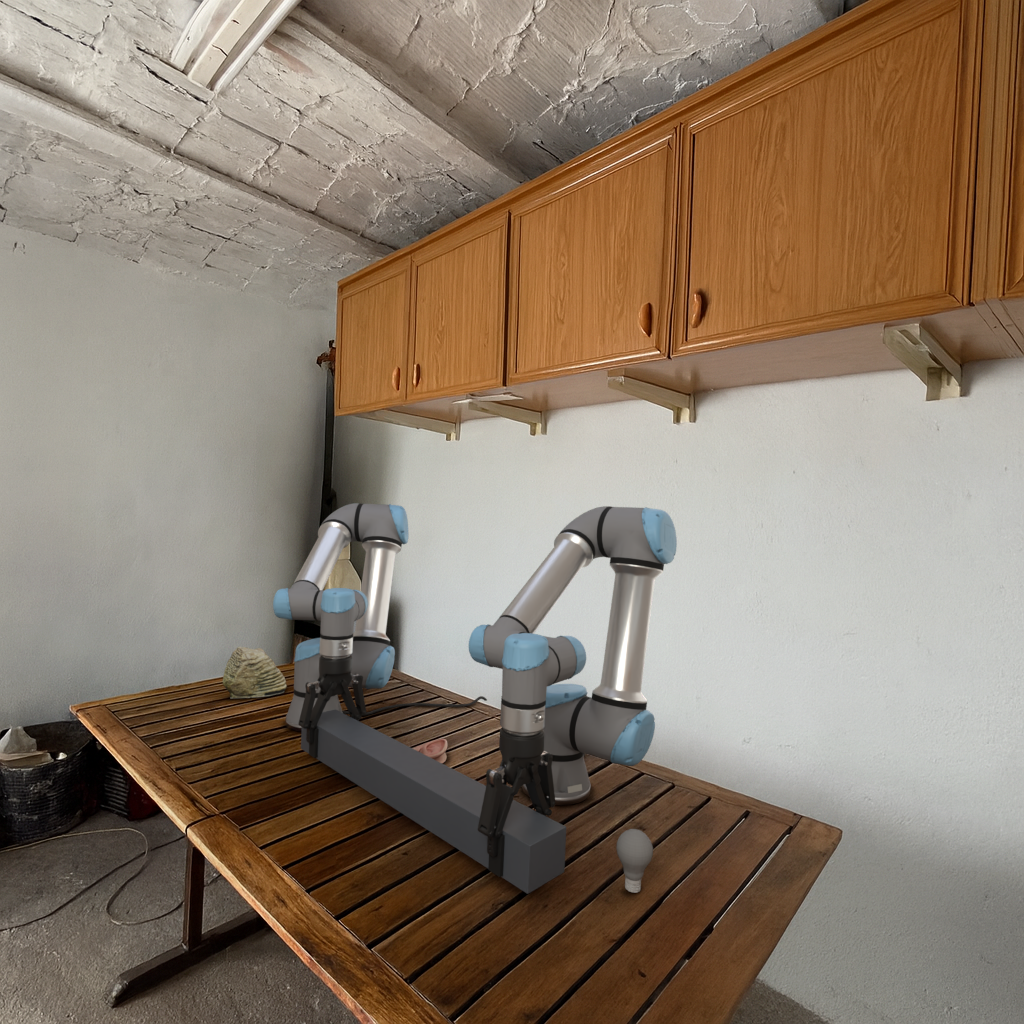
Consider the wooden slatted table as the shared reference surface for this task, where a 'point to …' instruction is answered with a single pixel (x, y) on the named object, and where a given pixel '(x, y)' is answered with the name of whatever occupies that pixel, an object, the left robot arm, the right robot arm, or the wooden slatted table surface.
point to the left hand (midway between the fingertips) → (332, 750)
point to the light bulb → (634, 857)
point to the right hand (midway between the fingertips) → (516, 861)
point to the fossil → (252, 674)
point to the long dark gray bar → (439, 799)
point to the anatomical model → (434, 749)
